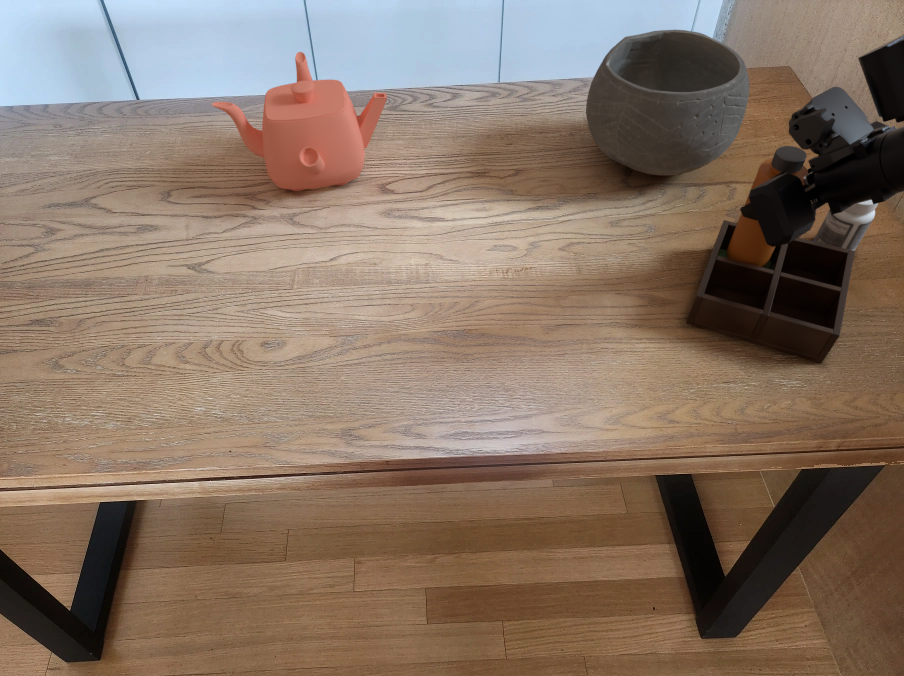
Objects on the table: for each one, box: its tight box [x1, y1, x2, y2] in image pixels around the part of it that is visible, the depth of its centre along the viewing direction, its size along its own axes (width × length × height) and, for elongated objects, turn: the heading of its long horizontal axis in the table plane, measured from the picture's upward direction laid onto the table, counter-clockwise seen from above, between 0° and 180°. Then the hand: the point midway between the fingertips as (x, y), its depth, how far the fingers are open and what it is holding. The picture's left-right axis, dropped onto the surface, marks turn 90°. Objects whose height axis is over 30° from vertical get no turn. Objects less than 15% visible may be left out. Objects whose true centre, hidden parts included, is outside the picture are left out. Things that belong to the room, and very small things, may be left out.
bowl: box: [585, 29, 750, 176], centre depth 94 cm, size 21×21×15 cm
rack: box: [685, 219, 856, 364], centre depth 78 cm, size 15×15×5 cm
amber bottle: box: [726, 145, 808, 267], centre depth 75 cm, size 5×5×14 cm
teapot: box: [211, 51, 388, 192], centre depth 98 cm, size 18×18×14 cm
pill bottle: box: [813, 200, 879, 252], centre depth 81 cm, size 5×5×8 cm
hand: (757, 203), depth 76 cm, fingers closed on amber bottle, 5 cm apart
